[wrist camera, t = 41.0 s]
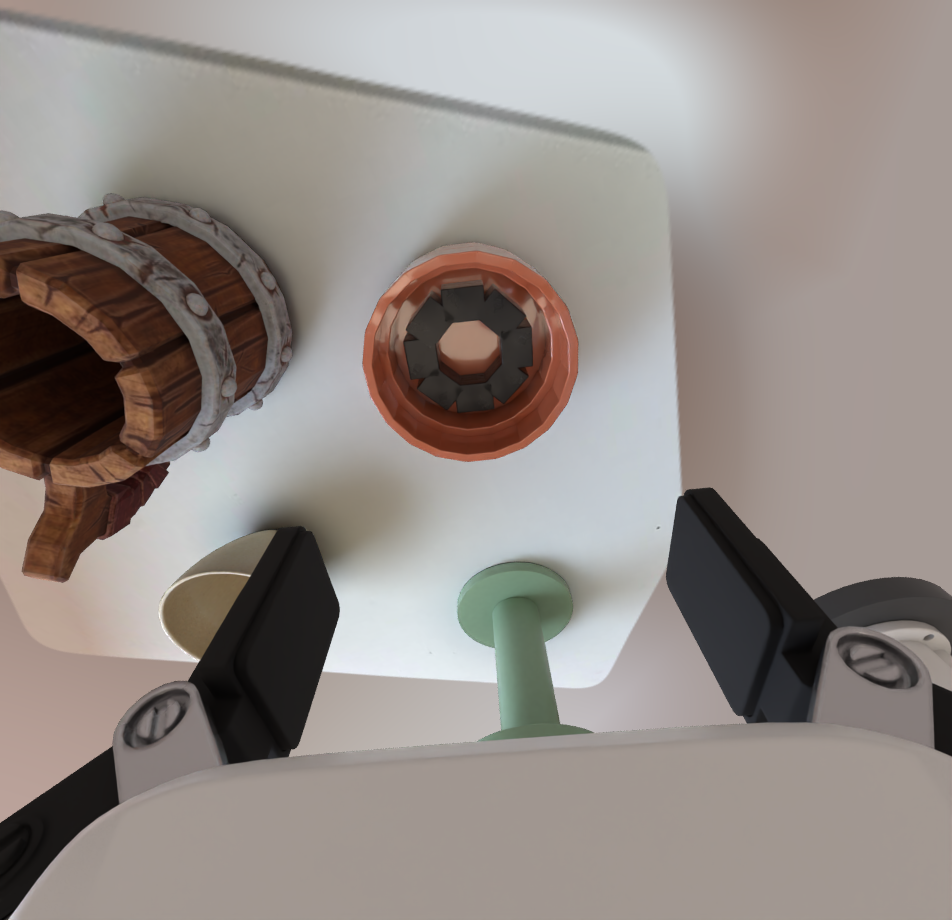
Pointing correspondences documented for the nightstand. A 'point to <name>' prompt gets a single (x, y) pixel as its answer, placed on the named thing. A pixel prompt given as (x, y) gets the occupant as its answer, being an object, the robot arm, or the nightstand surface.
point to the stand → (519, 642)
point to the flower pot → (209, 592)
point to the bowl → (471, 356)
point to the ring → (462, 307)
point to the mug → (124, 357)
